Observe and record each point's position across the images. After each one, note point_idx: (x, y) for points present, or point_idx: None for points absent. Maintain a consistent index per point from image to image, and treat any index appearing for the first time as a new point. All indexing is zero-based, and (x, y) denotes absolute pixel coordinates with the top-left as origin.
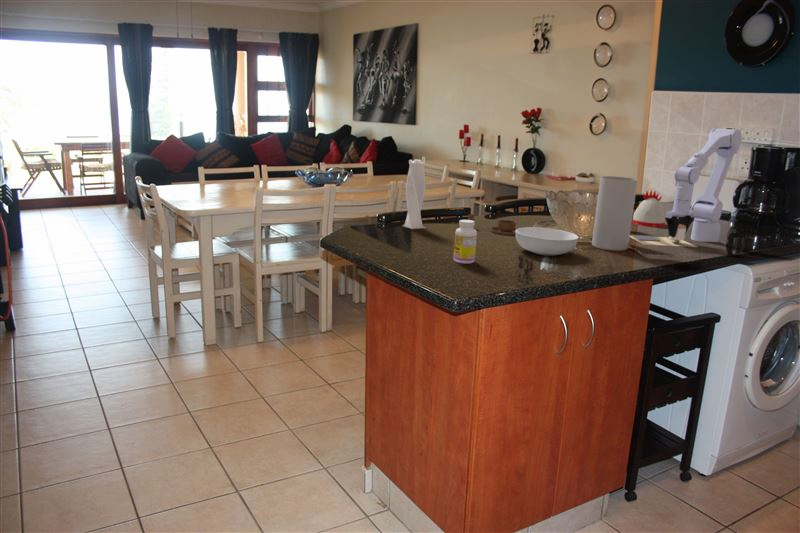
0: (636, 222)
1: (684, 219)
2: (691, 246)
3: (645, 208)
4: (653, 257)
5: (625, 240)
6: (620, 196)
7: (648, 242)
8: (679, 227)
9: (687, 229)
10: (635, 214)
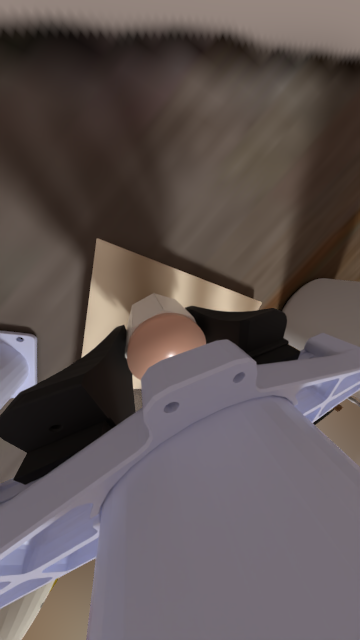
0: None
1: (120, 404)
2: (127, 252)
3: None
4: (322, 197)
5: (343, 283)
6: None
7: None
8: (190, 320)
9: (104, 340)
10: None
